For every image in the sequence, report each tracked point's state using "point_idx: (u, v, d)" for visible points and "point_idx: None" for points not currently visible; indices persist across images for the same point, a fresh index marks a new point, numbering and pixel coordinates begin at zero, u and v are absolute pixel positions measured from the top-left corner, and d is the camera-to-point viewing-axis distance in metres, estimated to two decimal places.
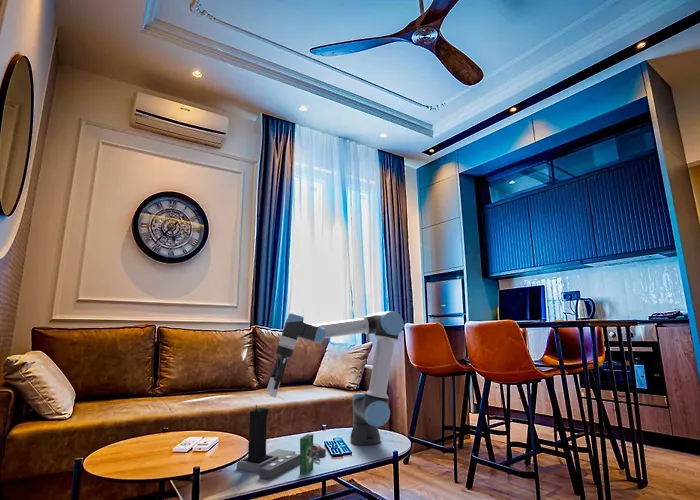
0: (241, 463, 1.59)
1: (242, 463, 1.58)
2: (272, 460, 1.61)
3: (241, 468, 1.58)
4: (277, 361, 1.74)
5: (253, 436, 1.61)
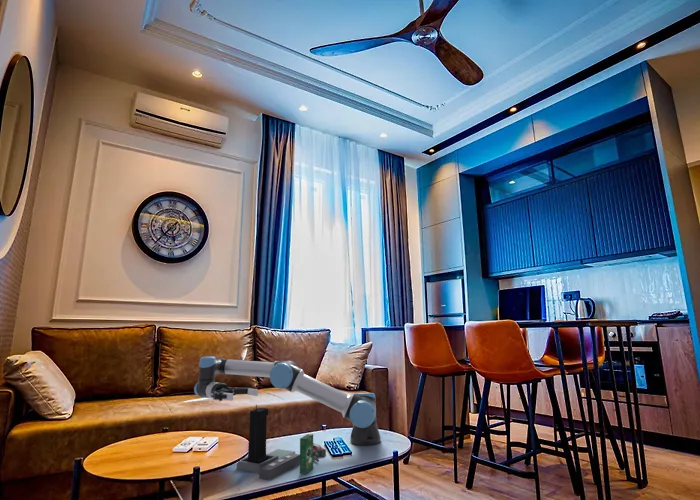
0: (241, 463, 1.59)
1: (242, 463, 1.58)
2: (272, 460, 1.61)
3: (241, 468, 1.58)
4: None
5: (253, 436, 1.61)
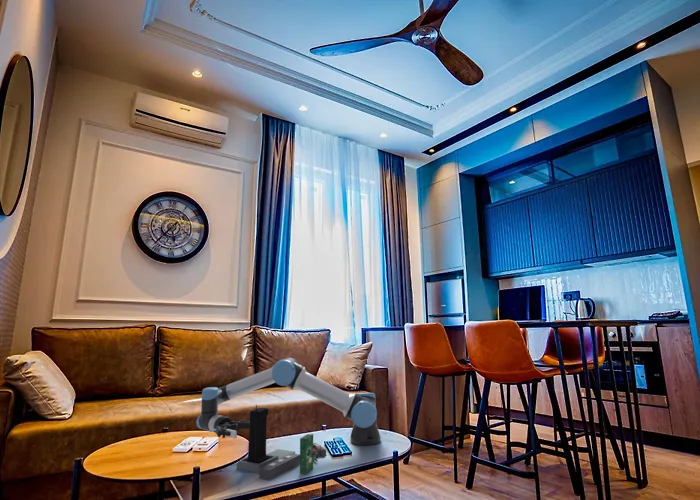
0: (241, 463, 1.59)
1: (242, 463, 1.58)
2: (272, 460, 1.61)
3: (241, 468, 1.58)
4: None
5: (253, 436, 1.61)
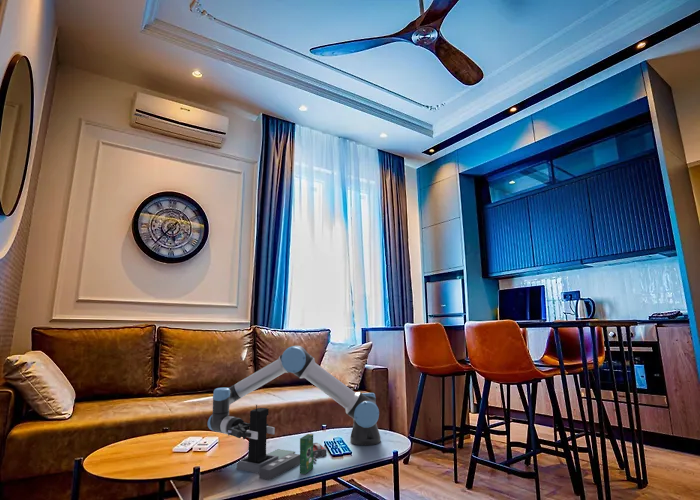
0: (241, 463, 1.59)
1: (242, 463, 1.58)
2: (272, 460, 1.61)
3: (241, 468, 1.58)
4: None
5: None
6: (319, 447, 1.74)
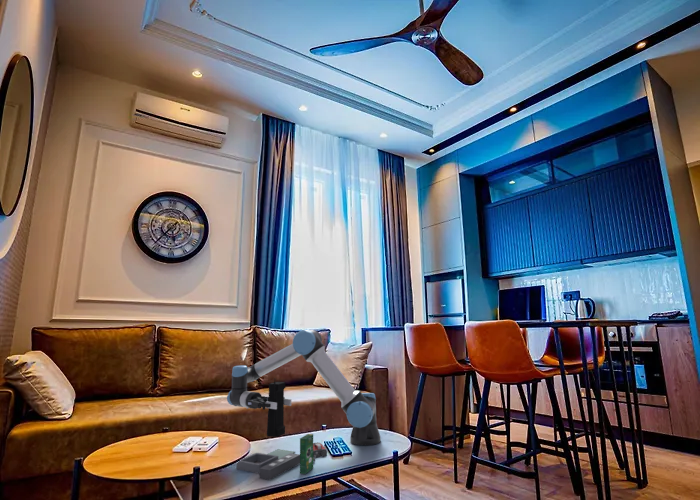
0: (241, 463, 1.59)
1: (242, 463, 1.58)
2: (272, 460, 1.61)
3: (241, 468, 1.58)
4: None
5: None
6: (319, 447, 1.74)
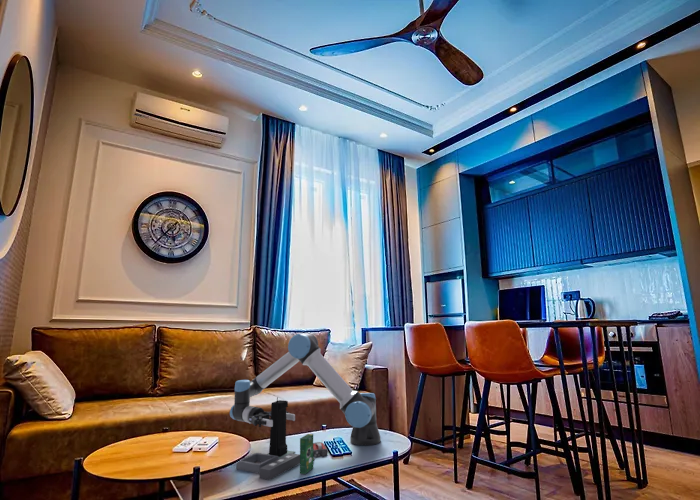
0: (241, 463, 1.59)
1: (242, 463, 1.58)
2: (272, 460, 1.61)
3: (241, 468, 1.58)
4: None
5: (274, 426, 1.74)
6: (320, 447, 1.74)
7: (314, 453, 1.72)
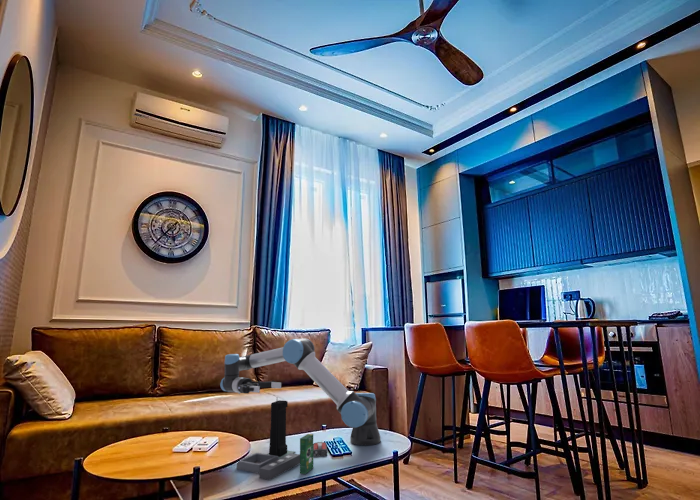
0: (241, 463, 1.59)
1: (242, 463, 1.58)
2: (272, 460, 1.61)
3: (241, 468, 1.58)
4: None
5: (274, 426, 1.74)
6: (320, 447, 1.75)
7: (313, 453, 1.73)
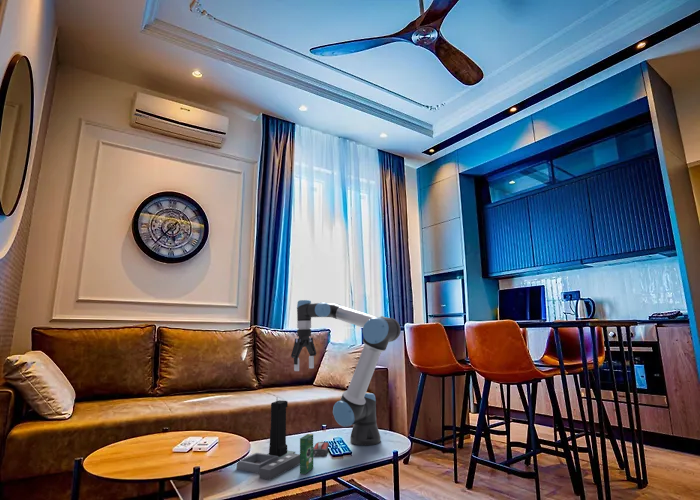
0: (241, 463, 1.59)
1: (242, 463, 1.58)
2: (272, 460, 1.61)
3: (241, 468, 1.58)
4: None
5: (274, 426, 1.74)
6: (319, 446, 1.75)
7: (313, 452, 1.74)
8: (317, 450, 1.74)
